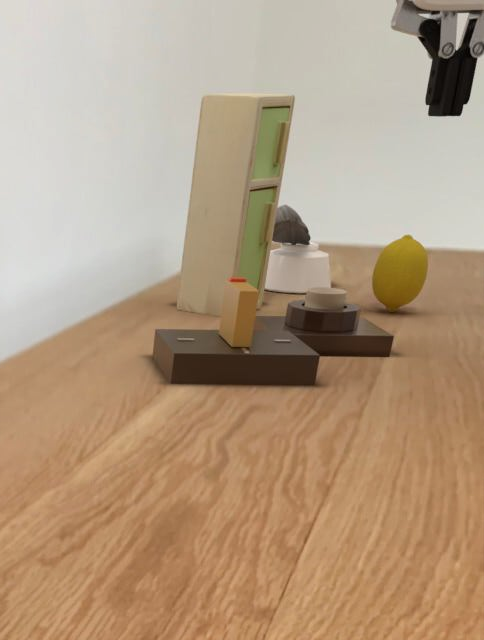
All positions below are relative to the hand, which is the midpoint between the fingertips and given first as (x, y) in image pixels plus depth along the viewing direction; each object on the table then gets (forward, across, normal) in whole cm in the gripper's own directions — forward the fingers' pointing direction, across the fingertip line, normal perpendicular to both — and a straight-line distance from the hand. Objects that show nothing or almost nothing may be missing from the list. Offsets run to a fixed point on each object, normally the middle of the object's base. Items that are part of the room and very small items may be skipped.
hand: (444, 115), depth 90 cm
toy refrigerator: (+19, -10, +28) cm, 35 cm away
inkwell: (+19, -1, +40) cm, 44 cm away
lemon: (+20, +9, +28) cm, 35 cm away
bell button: (+16, -5, +8) cm, 18 cm away
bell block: (+20, -5, +8) cm, 22 cm away
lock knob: (+17, -16, -5) cm, 23 cm away
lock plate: (+20, -16, -4) cm, 26 cm away
